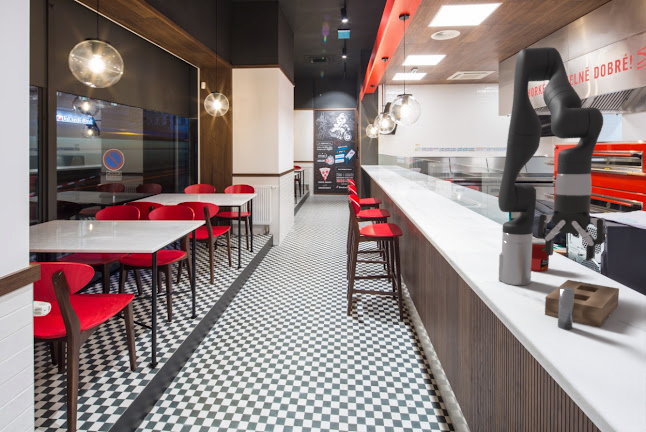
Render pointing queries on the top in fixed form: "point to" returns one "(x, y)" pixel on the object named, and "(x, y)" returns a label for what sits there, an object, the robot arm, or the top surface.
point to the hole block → (586, 302)
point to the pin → (566, 308)
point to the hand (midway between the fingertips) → (569, 257)
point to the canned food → (539, 256)
